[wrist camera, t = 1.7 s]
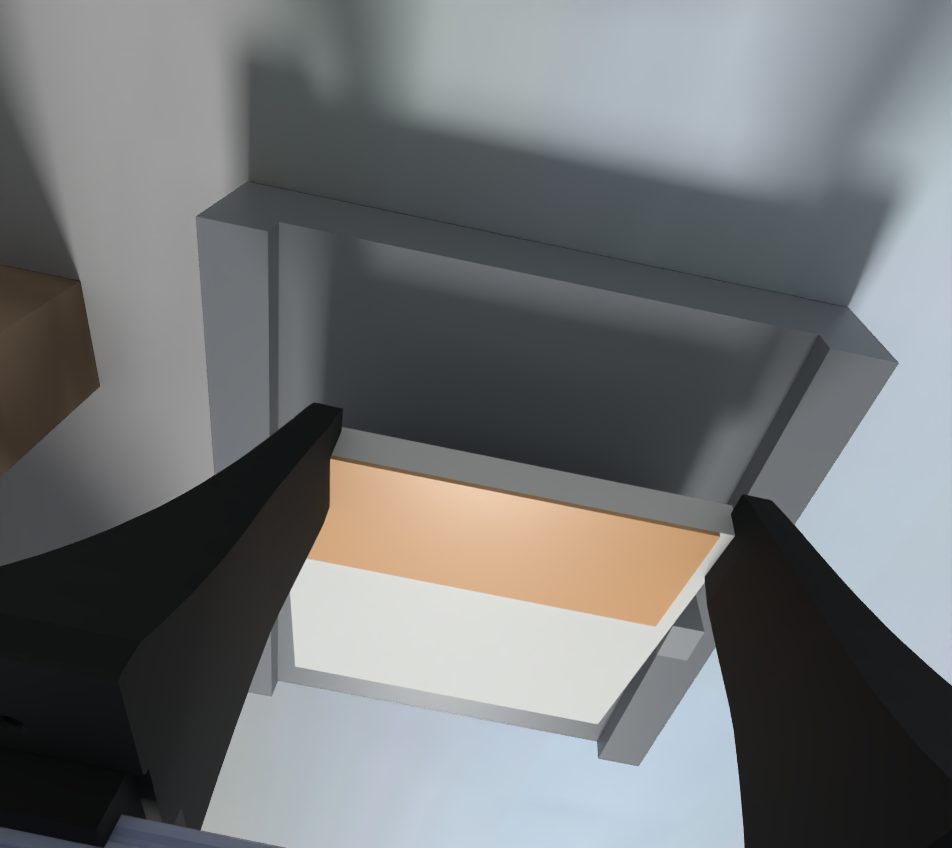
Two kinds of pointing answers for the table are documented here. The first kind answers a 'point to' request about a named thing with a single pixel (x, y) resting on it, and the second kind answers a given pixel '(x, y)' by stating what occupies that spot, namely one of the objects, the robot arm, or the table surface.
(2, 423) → the wooden brick
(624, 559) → the rocker switch
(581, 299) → the switch panel
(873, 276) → the table surface
